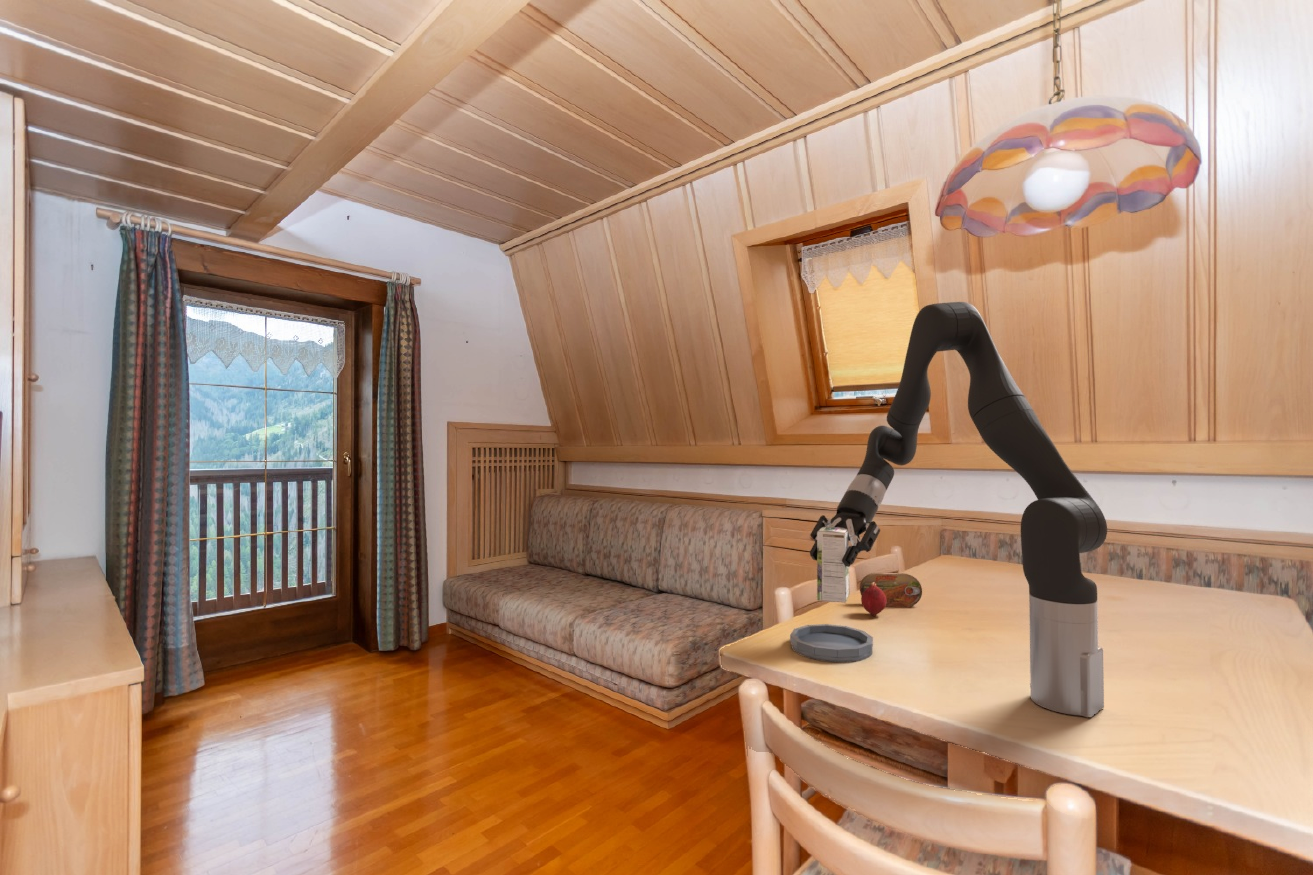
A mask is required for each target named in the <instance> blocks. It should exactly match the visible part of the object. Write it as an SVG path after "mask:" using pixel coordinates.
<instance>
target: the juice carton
mask: <svg viewBox="0 0 1313 875" xmlns="http://www.w3.org/2000/svg"><path fill="white" fill-rule="evenodd" d="M849 546H850V541H849V539H848V529H845V528H839V527H822V528H821V529H820V530H819V531H818V532H817V561H816V570H817V571H816V572H817V573H816V574H817V575H816V584H817V585H816V586H817V588H816V589H817V591H816V592H817V593H816V594H817V596H816V598H817V601H820V602H829V603H844V604H845V603H847V601H848V598H849V597H850V567H847V566H845V565H844V563H843V562H842V559H843V557H844V555H845V553H846V551H847V549H848V547H849Z"/></svg>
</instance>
